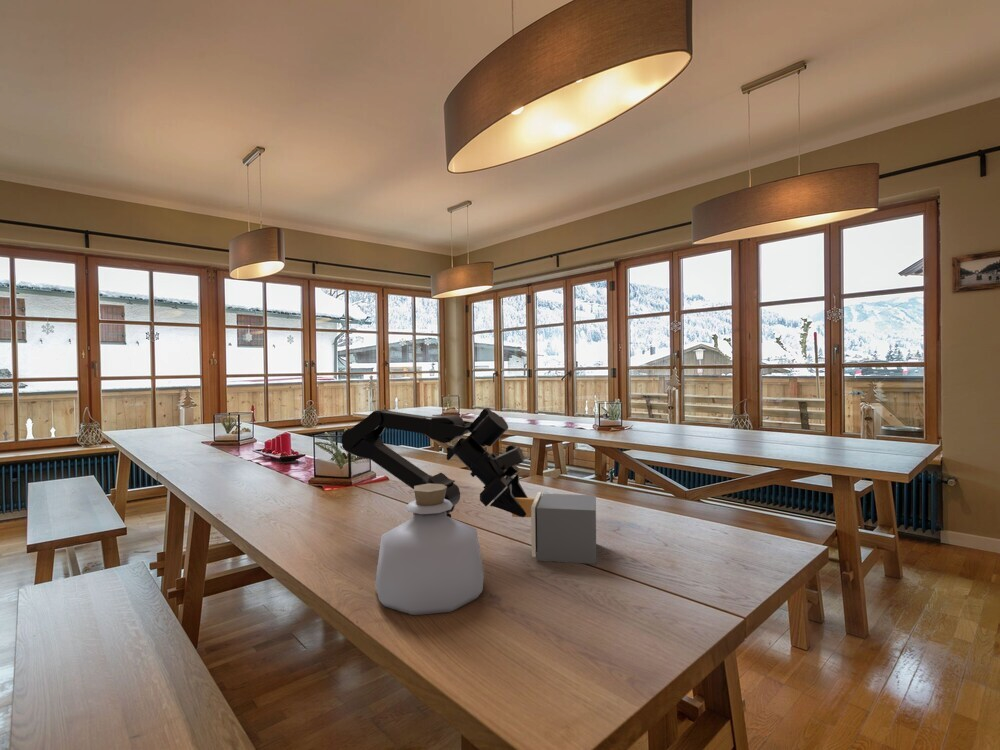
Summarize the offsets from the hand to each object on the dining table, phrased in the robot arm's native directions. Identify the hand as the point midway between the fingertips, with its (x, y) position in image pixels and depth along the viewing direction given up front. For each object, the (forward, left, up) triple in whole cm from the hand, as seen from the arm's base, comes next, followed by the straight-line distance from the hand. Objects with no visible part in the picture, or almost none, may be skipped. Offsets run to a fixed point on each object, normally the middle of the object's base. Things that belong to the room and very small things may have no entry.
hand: (527, 510), depth 110 cm
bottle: (-26, -6, -9) cm, 28 cm away
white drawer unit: (+3, -3, -8) cm, 9 cm away
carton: (+6, -6, -9) cm, 12 cm away
